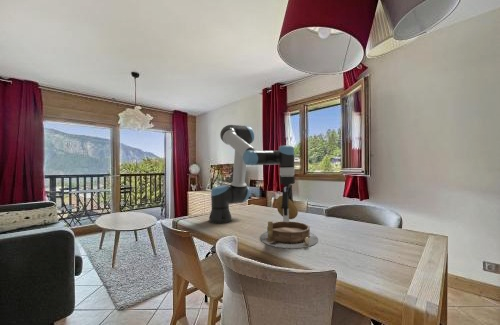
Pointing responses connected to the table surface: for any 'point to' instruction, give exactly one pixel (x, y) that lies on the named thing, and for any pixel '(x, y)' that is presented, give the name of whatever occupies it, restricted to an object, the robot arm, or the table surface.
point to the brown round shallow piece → (287, 231)
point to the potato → (291, 206)
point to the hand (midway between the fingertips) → (288, 219)
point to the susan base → (292, 245)
